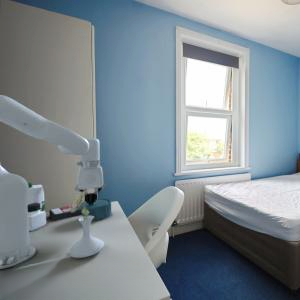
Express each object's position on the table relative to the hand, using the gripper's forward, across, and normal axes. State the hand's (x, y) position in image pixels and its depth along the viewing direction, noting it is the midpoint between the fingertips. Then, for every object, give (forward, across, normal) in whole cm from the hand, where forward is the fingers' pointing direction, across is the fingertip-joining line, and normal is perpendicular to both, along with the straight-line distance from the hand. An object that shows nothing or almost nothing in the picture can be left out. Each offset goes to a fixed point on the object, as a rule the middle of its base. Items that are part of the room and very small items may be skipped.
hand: (91, 201), depth 100 cm
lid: (+2, 0, 0) cm, 2 cm away
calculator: (+14, -11, +28) cm, 34 cm away
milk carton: (+14, -26, +30) cm, 43 cm away
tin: (+13, +3, +16) cm, 21 cm away
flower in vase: (+14, -1, -24) cm, 28 cm away
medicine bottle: (+14, -24, +17) cm, 33 cm away
